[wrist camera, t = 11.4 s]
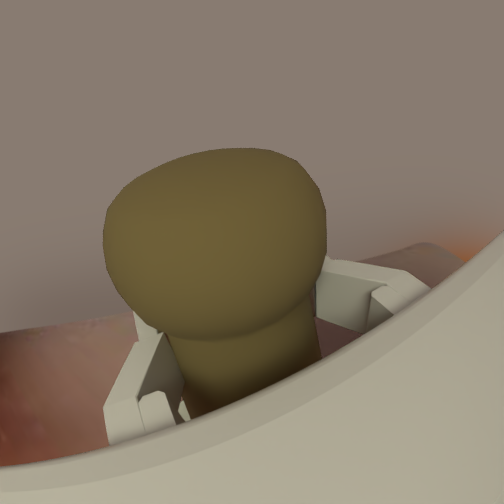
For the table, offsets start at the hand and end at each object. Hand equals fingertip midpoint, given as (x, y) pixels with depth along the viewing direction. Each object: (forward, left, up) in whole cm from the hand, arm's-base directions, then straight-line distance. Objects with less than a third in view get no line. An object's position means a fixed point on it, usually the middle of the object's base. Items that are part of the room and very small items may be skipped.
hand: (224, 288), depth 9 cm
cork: (0, -1, -7) cm, 7 cm away
